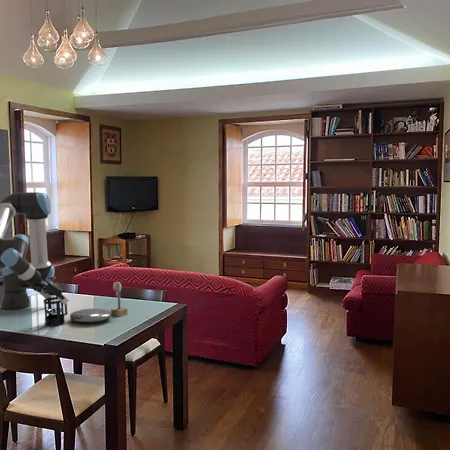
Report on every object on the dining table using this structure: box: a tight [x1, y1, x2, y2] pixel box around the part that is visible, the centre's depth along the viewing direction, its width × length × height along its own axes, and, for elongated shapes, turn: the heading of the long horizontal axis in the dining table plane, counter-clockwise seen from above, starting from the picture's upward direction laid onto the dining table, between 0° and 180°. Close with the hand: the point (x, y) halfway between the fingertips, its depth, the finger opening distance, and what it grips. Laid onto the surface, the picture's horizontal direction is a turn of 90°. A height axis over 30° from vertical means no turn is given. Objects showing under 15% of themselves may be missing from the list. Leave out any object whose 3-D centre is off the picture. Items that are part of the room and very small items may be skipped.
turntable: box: [69, 308, 112, 323], centre depth 238 cm, size 20×20×2 cm
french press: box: [43, 276, 68, 327], centre depth 231 cm, size 12×9×23 cm
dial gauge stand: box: [110, 281, 128, 317], centre depth 248 cm, size 6×6×18 cm
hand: (58, 300), depth 232 cm, fingers open, 13 cm apart
